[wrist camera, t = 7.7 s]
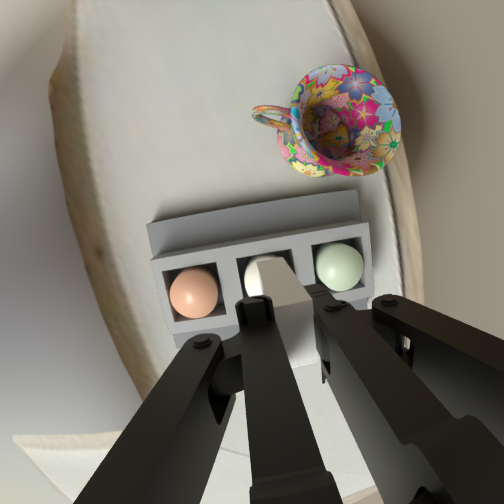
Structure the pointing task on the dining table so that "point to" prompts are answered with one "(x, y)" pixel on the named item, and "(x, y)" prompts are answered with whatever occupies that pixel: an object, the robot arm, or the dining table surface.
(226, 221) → the panel
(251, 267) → the white egg
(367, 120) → the mug
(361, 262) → the pale green rounded piece
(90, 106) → the dining table surface
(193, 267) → the brown egg
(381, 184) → the dining table surface
